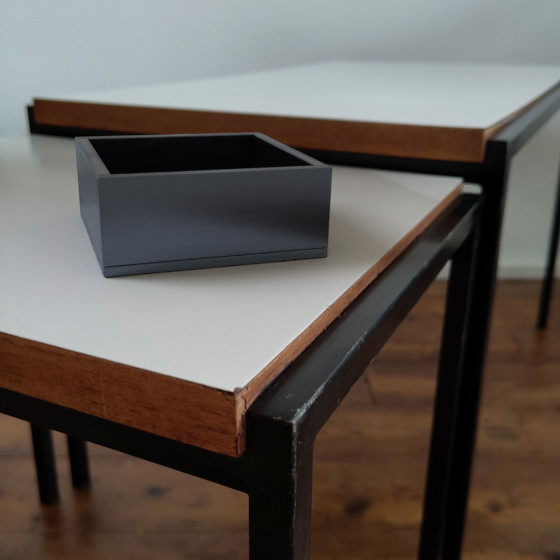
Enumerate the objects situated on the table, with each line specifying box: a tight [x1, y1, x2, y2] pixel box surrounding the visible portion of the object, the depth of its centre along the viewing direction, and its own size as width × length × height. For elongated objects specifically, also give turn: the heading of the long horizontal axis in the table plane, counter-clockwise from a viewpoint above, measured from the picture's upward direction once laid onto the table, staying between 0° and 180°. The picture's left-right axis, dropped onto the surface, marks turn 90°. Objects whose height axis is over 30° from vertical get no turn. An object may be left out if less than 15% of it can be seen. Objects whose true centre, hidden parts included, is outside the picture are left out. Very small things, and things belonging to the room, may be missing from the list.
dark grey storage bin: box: [74, 131, 333, 278], centre depth 46 cm, size 14×14×6 cm
